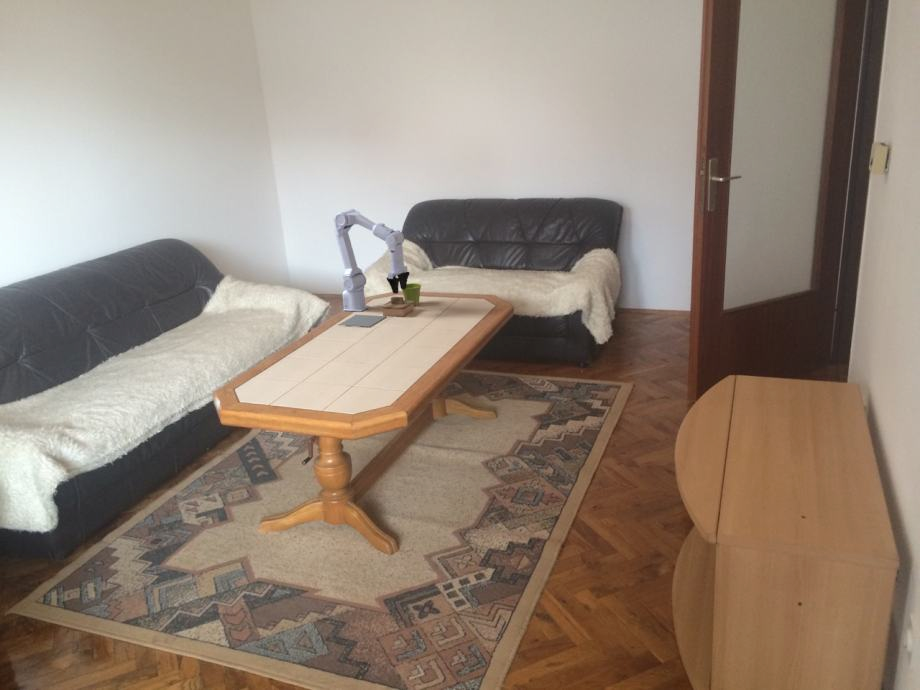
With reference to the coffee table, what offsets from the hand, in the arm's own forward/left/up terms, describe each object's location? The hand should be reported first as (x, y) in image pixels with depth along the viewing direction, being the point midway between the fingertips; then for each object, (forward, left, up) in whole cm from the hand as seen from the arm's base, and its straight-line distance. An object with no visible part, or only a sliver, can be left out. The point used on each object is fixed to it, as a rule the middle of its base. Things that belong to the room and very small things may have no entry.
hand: (399, 291), depth 324 cm
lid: (-1, -1, -6) cm, 6 cm away
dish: (-1, -1, -10) cm, 10 cm away
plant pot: (-1, +13, -10) cm, 17 cm away
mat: (-11, -15, -10) cm, 21 cm away
